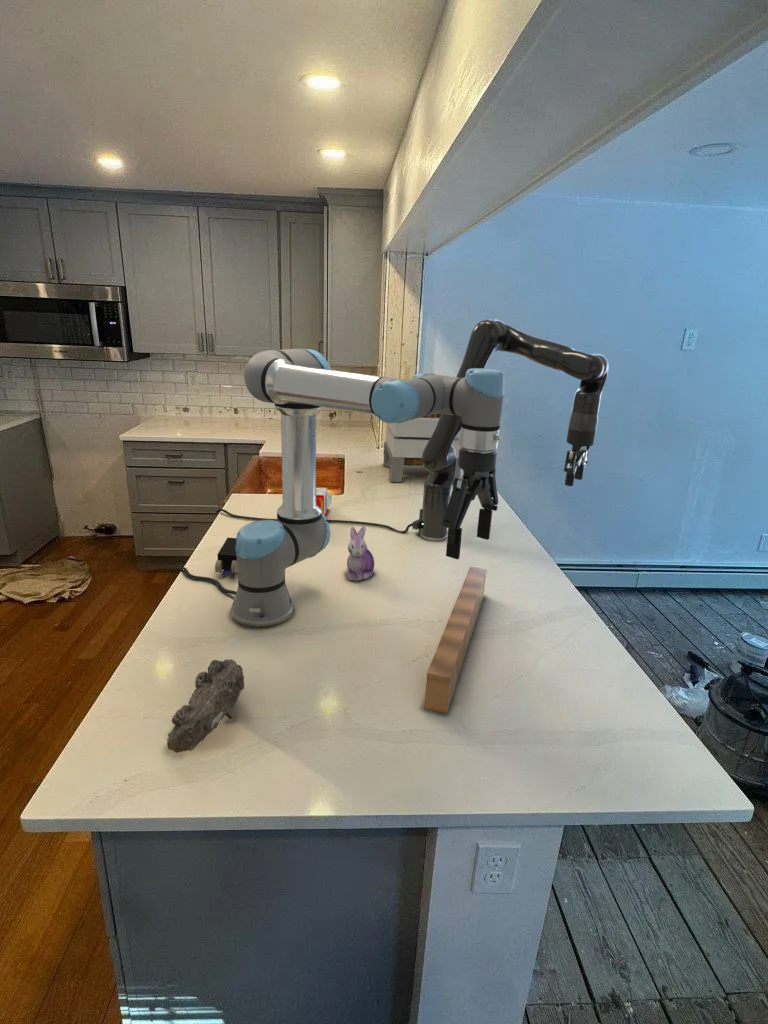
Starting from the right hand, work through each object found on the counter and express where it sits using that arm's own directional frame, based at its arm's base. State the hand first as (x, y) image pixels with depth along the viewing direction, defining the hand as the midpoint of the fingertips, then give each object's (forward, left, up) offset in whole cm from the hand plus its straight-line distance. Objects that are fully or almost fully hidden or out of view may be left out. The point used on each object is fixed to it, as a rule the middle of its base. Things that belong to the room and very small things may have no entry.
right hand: (573, 482), depth 165 cm
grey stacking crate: (-92, +65, -29) cm, 116 cm away
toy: (-87, -16, -29) cm, 93 cm away
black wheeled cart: (-77, -63, -29) cm, 103 cm away
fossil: (-30, -108, -29) cm, 115 cm away
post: (-5, -55, -29) cm, 62 cm away
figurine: (-46, -41, -29) cm, 68 cm away
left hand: (-2, -61, -1) cm, 61 cm away
